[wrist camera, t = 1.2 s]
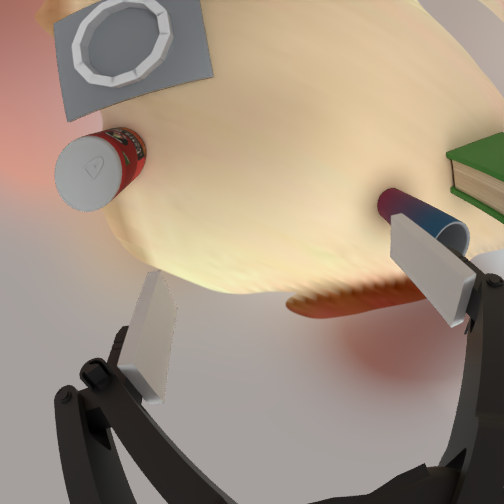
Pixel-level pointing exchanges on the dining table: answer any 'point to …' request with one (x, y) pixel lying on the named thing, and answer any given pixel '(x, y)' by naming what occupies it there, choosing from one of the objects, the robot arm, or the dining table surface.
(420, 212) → the cup
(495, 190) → the hardback book
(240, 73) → the dining table surface
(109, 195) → the canned food
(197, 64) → the holder
